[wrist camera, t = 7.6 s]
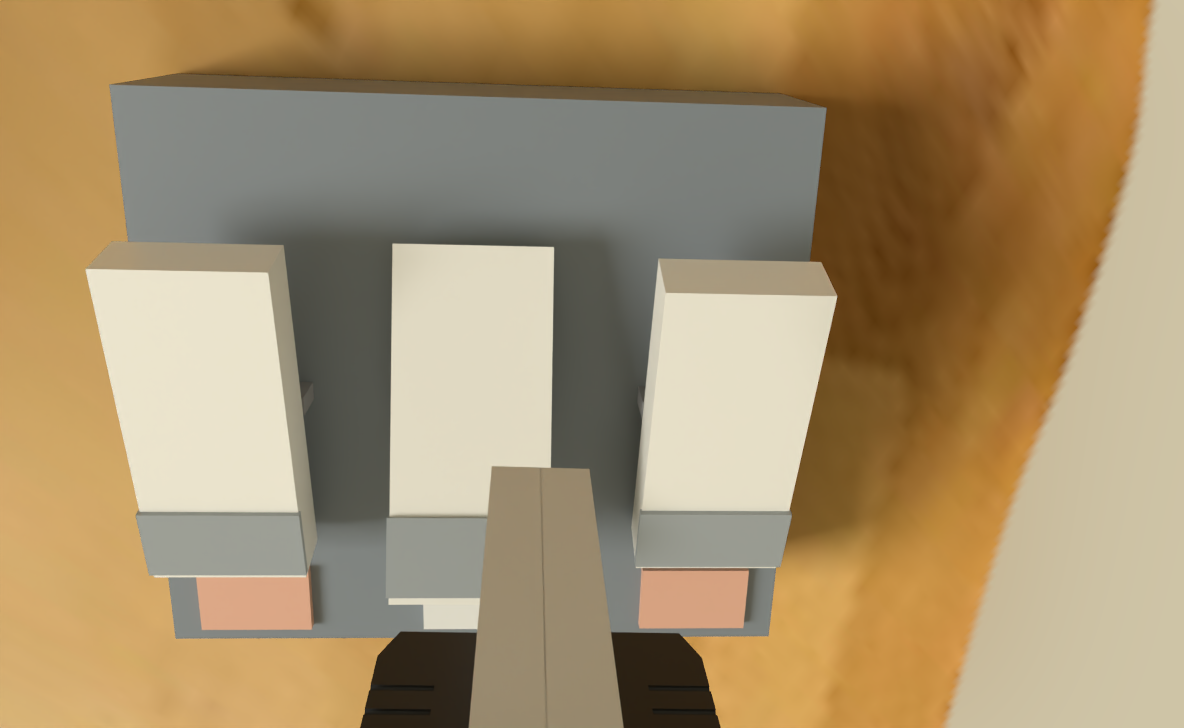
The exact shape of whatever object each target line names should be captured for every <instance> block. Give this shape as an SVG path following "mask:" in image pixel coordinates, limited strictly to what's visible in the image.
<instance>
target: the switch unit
mask: <svg viewBox="0 0 1184 728" xmlns="http://www.w3.org/2000/svg"><path fill="white" fill-rule="evenodd" d="M110 93H111V102H112V110H113V118H114V127H115V135H116V144H117V152H118V160H119V169H120V177H121V185H122V194H123V202H124V210H125V219H126V227H127V235H128V242H165V243H211V244H256V245H284V253H285V261H286V270H287V279H288V288H289V296H290V305H291V314H292V322H293V331H294V340H295V348H296V357H297V366H298V374H299V383H300V392H301V400H302V409H303V418H304V426H305V435H306V444H307V452H308V461H309V470H310V479H311V487H312V496H313V505H314V513H315V522H316V531H317V543H316V546H315V549H314V553H313V556H312V560H311V563H310V566H309V570H308V573H307V577H168V578H169V587H170V595H171V603H172V612H173V620H174V628H175V637H176V639H182V638H395V637H396V636H397V635H398V634H399V632H400V631H408V632H469V633H477V628H478V617H479V606H480V605H388V603H389V598H386V526H387V517H389V513H390V423H391V333H392V244H437V245H482V246H527V247H554V286H553V352H552V419H551V468H575V469H589V470H590V478H591V486H592V493H593V501H594V508H595V516H596V523H597V531H598V538H599V546H600V553H601V561H602V569H603V576H604V584H605V591H606V599H607V606H608V614H609V621H610V629H611V632H638V633H679V634H680V635H681V636H682V637H691V636H769V627H770V618H771V609H772V600H773V591H774V582H775V573H776V568H636V567H635V562H634V561H635V556H634V547H633V537H632V528H631V526H632V516H633V507H634V497H635V487H636V477H637V467H638V457H639V447H640V437H641V428H642V418H643V408H644V398H645V388H646V378H647V368H648V358H649V349H650V339H651V329H652V319H653V309H654V299H655V289H656V279H657V270H658V260H659V259H702V260H749V261H795V262H810V254H811V245H812V236H813V227H814V218H815V209H816V200H817V191H818V182H819V173H820V164H821V154H822V145H823V136H824V127H825V118H826V109H827V108H826V107H823V106H819V105H816V104H813V103H810V102H806V101H803V100H800V99H797V98H794V97H790V96H787V95H784V94H780V93H750V92H719V91H689V90H659V89H629V88H598V87H568V86H538V85H508V84H477V83H447V82H417V81H387V80H356V79H326V78H296V77H266V76H235V75H205V74H172V75H166V76H160V77H153V78H147V79H141V80H135V81H129V82H123V83H117V84H111V85H110Z"/></svg>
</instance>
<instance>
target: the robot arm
mask: <svg viewBox="0 0 1184 728" xmlns="http://www.w3.org/2000/svg"><path fill="white" fill-rule="evenodd" d="M715 710H716V709H715V705H714V702H713V698H712V694H711V692H709V683H708V679H707V676H706V672H705V668H704V665H703V661H702V658H701V657H700V655H699V654H698V653H697V652H696V651H695V650H694V649H693V648H692V647H691V646H690V645H689V644H688V642H687V641H686V640H685V639H684V638H683V637H682V636H681V635H680V634H679V633H638V632H611V629H610V621H609V614H608V606H607V599H606V591H605V584H604V576H603V569H602V561H601V553H600V546H599V538H598V531H597V523H596V516H595V508H594V501H593V493H592V486H591V478H590V470H589V469H575V468H541V467H506V466H492V469H491V481H490V492H489V503H488V515H487V526H486V537H485V549H484V560H483V571H482V583H481V594H480V606H479V617H478V628H477V633H469V632H408V631H400V632H399V634H398V635H397V636H396V637H395V638H394V639H393V640H392V641H391V642H390V643H389V644H388V645H387V647H386V648H385V649H384V650H383V651H382V652H381V653H380V654H379V655H378V657H377V661H376V665H375V669H374V674H373V678H372V682H371V689H370V690H369V694H368V698H367V702H366V707H365V715H363V719H362V723H361V727H360V728H720V724H719V720H718V716H717V715H716V713H715Z"/></svg>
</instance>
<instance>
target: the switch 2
mask: <svg viewBox="0 0 1184 728" xmlns="http://www.w3.org/2000/svg"><path fill="white" fill-rule="evenodd" d="M553 286H554V247H527V246H482V245H437V244H392V333H391V423H390V513H389V517H387V526H386V598H389V603H388V605H480V594H481V583H482V571H483V560H484V549H485V537H486V526H487V515H488V503H489V492H490V481H491V469H492V466H506V467H541V468H551V419H552V352H553Z"/></svg>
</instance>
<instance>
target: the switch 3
mask: <svg viewBox="0 0 1184 728" xmlns="http://www.w3.org/2000/svg"><path fill="white" fill-rule="evenodd" d="M836 301H837V294H836V292H835V290H834V288H833V286H832V284H831V282H830V279H829V277H828V275H827V273H826V271H825V269H824V267H823V265H822V263H821V262H795V261H749V260H702V259H659V260H658V270H657V279H656V289H655V299H654V309H653V319H652V329H651V339H650V349H649V358H648V368H647V378H646V388H645V398H644V408H643V418H642V428H641V437H640V447H639V457H638V467H637V477H636V487H635V497H634V507H633V516H632V526H631V528H632V537H633V547H634V556H635V561H634V562H635V567H636V568H776V567H780V566H781V562H782V557H783V553H784V548H785V544H786V540H787V535H788V531H789V526H790V522H791V518H792V513H791V510H789V509H790V505H791V501H792V496H793V492H794V487H795V483H796V478H797V474H798V469H799V465H800V461H801V456H802V452H803V447H804V443H805V438H806V434H807V429H808V425H809V421H810V416H811V412H812V407H813V403H814V398H815V394H816V389H817V385H818V381H819V376H820V372H821V367H822V363H823V358H824V354H825V349H826V345H827V341H828V336H829V332H830V327H831V323H832V318H833V314H834V309H835V305H836Z"/></svg>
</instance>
